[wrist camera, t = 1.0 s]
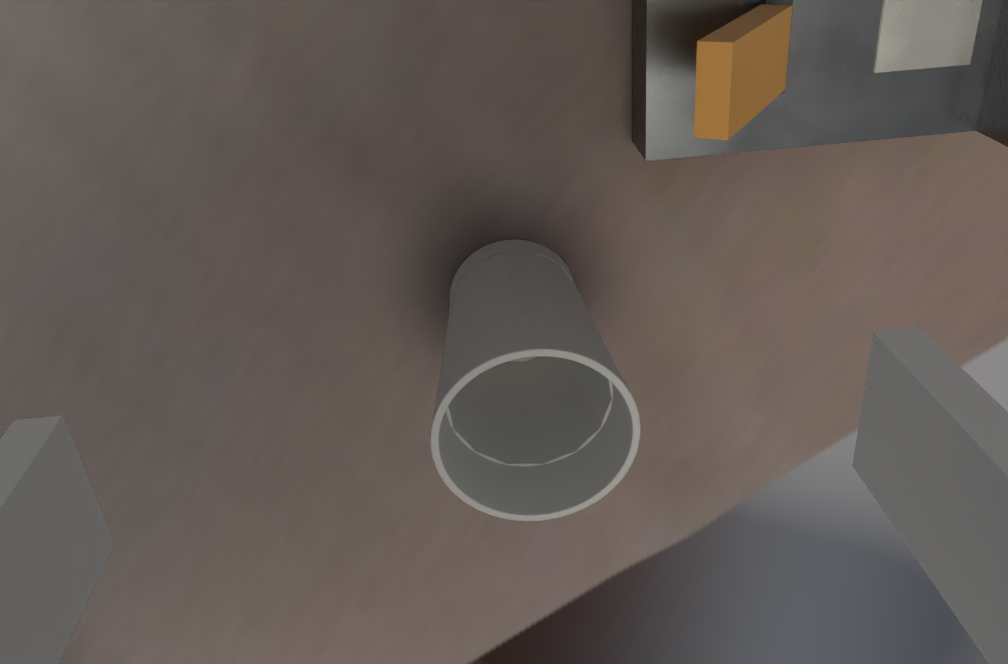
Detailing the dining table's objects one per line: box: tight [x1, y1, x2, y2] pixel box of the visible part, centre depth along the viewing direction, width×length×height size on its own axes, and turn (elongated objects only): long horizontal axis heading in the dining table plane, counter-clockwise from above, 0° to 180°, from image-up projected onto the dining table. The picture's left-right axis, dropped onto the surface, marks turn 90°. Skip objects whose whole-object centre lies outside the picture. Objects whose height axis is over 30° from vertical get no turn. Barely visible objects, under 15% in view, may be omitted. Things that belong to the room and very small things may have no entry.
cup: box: [430, 239, 641, 521], centre depth 37 cm, size 8×8×12 cm
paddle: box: [694, 0, 793, 140], centre depth 31 cm, size 1×4×8 cm
